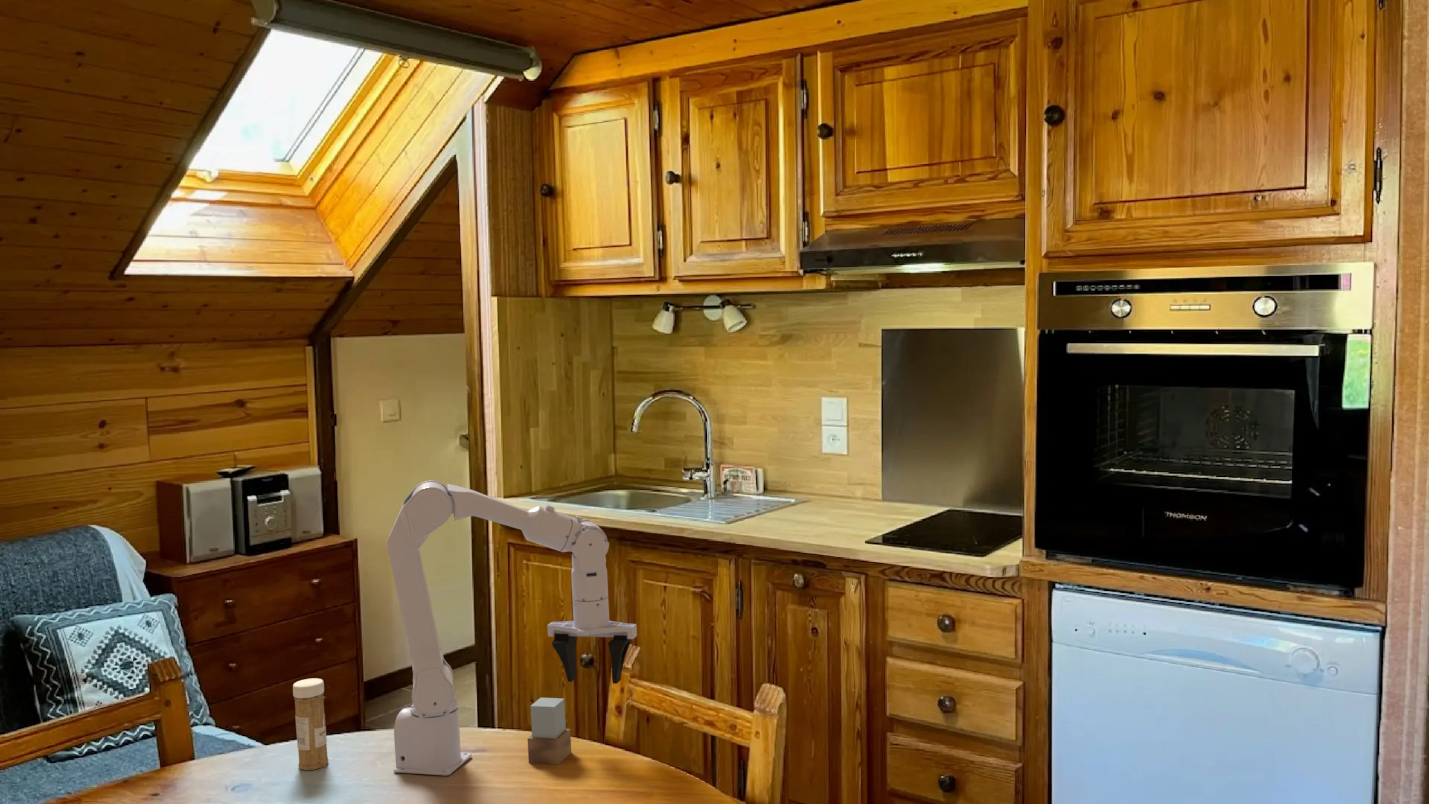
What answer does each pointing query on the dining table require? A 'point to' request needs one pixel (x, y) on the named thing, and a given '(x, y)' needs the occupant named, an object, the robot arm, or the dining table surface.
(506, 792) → the dining table surface
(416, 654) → the robot arm
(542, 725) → the slate block
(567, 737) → the walnut block
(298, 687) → the sprinkles bottle
